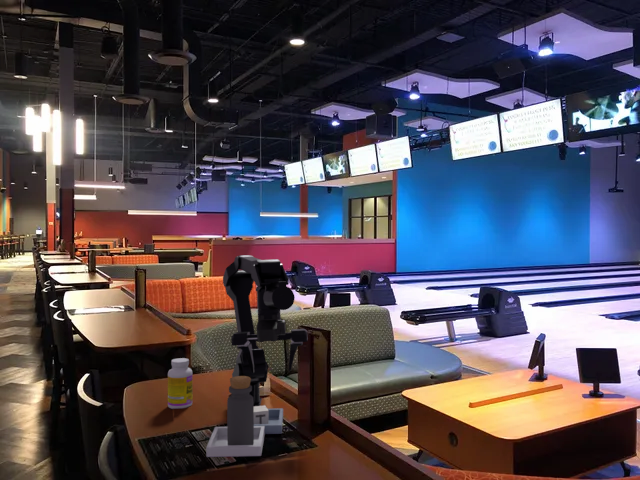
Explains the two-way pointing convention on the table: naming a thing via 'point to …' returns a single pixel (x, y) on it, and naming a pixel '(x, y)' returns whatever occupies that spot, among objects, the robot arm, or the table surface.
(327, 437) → the table surface
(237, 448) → the grey tray
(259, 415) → the white cube
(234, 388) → the bottle
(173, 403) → the supplement bottle
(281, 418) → the blue tray
